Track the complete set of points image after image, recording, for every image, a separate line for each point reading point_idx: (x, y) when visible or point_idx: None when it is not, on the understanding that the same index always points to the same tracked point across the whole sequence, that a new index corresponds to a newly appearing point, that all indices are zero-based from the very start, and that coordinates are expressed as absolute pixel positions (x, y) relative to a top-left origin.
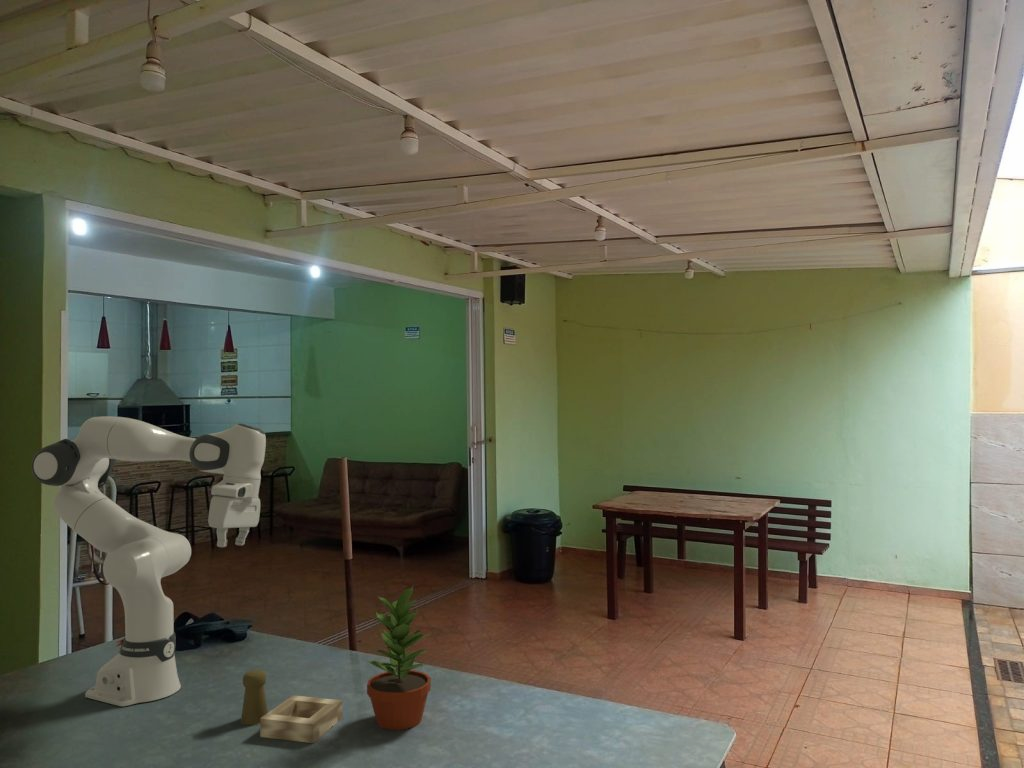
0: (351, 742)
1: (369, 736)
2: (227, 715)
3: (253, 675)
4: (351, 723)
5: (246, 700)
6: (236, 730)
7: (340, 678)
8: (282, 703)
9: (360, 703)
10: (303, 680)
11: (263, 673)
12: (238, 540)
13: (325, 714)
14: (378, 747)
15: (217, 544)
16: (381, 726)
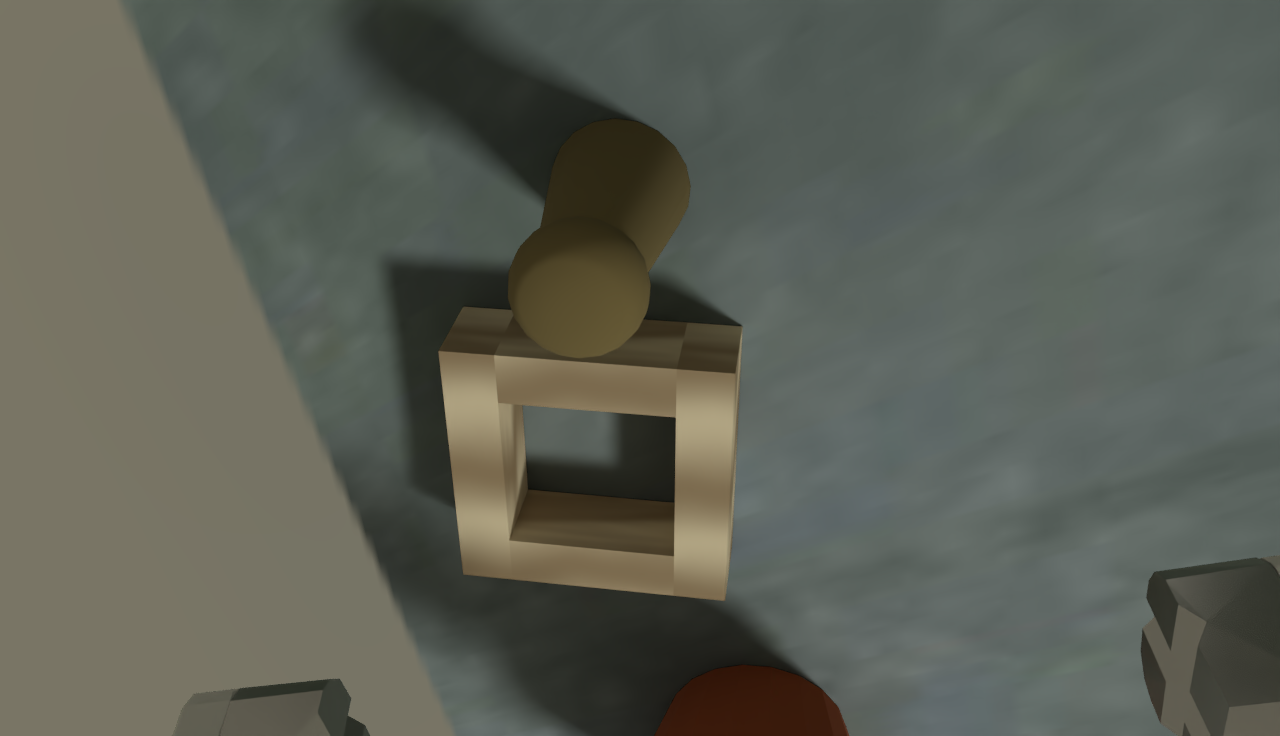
0: (535, 634)
1: (598, 672)
2: (631, 5)
3: (528, 325)
4: None
5: (541, 222)
6: (486, 164)
7: (1254, 372)
8: (623, 371)
9: (901, 564)
10: (1222, 176)
11: (584, 357)
12: (1198, 698)
13: (566, 584)
14: (529, 715)
15: (180, 728)
16: (677, 694)
